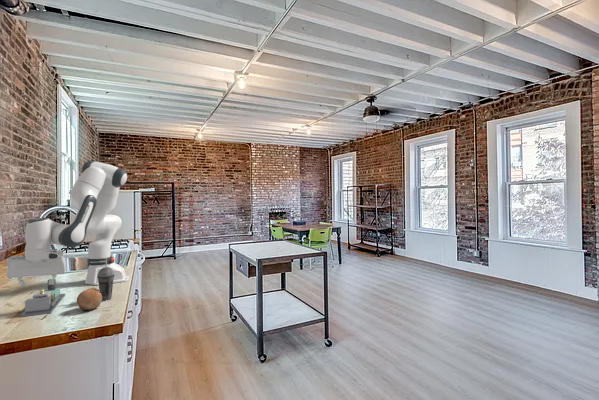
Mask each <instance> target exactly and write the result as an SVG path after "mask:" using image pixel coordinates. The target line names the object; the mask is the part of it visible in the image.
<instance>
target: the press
mask: <svg viewBox="0 0 599 400" xmlns="http://www.w3.org/2000/svg"><path fill="white" fill-rule="evenodd" d="M65 296H66V293H60V295H59V296H57V297H56V298H55V299H54V300H51V296H50V297H41V298H33V297H32V298H26V300H24V311H23V312H22V313H21V314H20V318H22V317H29V316H30V317H33V316H39V315H45V314H46V315H47V314H52V313H53V311H54V310H55V309H56V308H57V306H58V305H59V304H60V303H61V302H62V300H63V299H64V298H65Z"/></svg>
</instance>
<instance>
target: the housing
mask: <svg viewBox="0 0 599 400" xmlns="http://www.w3.org/2000/svg"><path fill="white" fill-rule="evenodd" d="M44 290H45V289H41V290H39V291H36V292H35V293H34V294H33V295H32V298H41V297H50V296H51V291H44Z"/></svg>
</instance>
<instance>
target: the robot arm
mask: <svg viewBox="0 0 599 400" xmlns="http://www.w3.org/2000/svg"><path fill="white" fill-rule="evenodd" d="M127 180H128V173H127V171H126V170H125V169H123V168H121V167H117V166H114V165H112V164H109V163H106V162H105V163H104V162H100V161H97V160H91V159H90V160H86V161H85V162H84V163H83V165H82V166H81V174H80V176H78V178H77V179H76V180H75V183H74V184H73V187H72V188H71V192H70V194H71V197H72V199H74V201H75V202H76V203H78V209H77V211H76V214H75V216H74V218H73V220H72V222H71V223H69V224H65V223H60V222H56V221H55V220H52V219H50V218H49V217H36V218H32V219H30V220H28V221H27V222H26V225H25V226H26V227H25V232H24V240H25V247H24V254H23V255H11V256H9V257H8V258H7V259H6V266H7V268H6V277H7V278H9V279H15V278H17V281H18V282H19V284H20V287H21V288H27V281H26V282H25V281H24V280H23V279H24V278H26V277H27V278H28V277H40V276H51V279H52V280H49V279H48V280H49V285H53V280H54V279H56V277H57V275H64V274H65V273H66V272H67V263H66V258H64V252H63V251H62V250H57V249H56V250H55V249H52V245H58V246H63V247H67V248H70V249H71V248H76V247H79V246H80V245H82V244H83V242H84V241H85V239H86V236H90V235H91V236H92V235H96V236H95V238H94V239H93V240H91V242H90V243H89V244H88V246H87V248H88V249H87V250H88V251H87V255H88V256H87V258H86V259H87V260H86V267H87V271H86V277H85V281H84V283H85V285H93V286H99V281H98V277H97V276H98V272H99V271H100V270H101V269H102V268H104V267H106V258H107V267H109V268H111V269H112V270H113V271H114V274H115V275H114V279H113V284H117V283H124V282H127V281H129V280H130V275H128V274H126V271H125V268H124V267H123V266H122V265H120V264H117V263H116V262H115V260H116V257H114V256H112V255H111V253H112V252H111V249H112V242H113V239H114V236H115V235H116V233H117V232H118V231H119V230H120V229H121V227H122V226H123V225H122V224H123V221H122V218H121V217H120V216H118V215H115V214H109V213H110V212H111V211H113V210H114V209H115V208H116V205H117V202H118V198H119V193H120V188H121V187H122V186H124V185H125V184H126V183H127Z"/></svg>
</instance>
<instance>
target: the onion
mask: <svg viewBox="0 0 599 400" xmlns="http://www.w3.org/2000/svg"><path fill="white" fill-rule="evenodd" d="M102 302H103V301H102V294H101V293H100V292H99V289H97V288H96V287H91V288H88V289H85V290H83V291H81V292H79V294H78V296H77V298H76V305H77V306H78V307H79V308H80V310H82V311H91V310H92V311H93V310H96V309H97V308H99V307H100V306H101V303H102Z"/></svg>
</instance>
